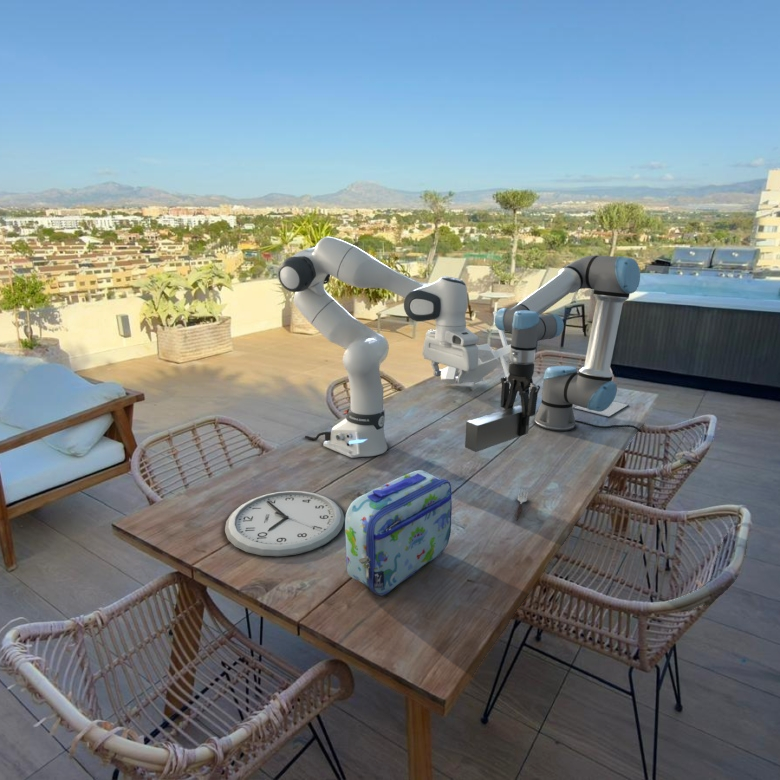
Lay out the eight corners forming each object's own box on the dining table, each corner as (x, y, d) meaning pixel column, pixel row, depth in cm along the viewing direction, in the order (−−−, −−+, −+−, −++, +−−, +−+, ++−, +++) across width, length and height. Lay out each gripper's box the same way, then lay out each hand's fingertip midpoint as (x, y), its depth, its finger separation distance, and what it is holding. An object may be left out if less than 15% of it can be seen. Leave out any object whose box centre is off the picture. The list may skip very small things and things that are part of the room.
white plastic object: (461, 429, 252) (437, 405, 227) (444, 352, 274) (420, 323, 250) (535, 404, 240) (518, 377, 215) (510, 326, 262) (492, 293, 237)
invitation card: (608, 416, 214) (573, 407, 224) (608, 416, 214) (573, 408, 224) (628, 404, 229) (594, 396, 238) (628, 405, 229) (594, 397, 238)
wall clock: (344, 547, 121) (211, 552, 118) (344, 554, 121) (212, 558, 119) (344, 486, 149) (237, 489, 147) (344, 491, 150) (237, 494, 147)
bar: (517, 429, 171) (519, 405, 169) (528, 433, 168) (530, 409, 166) (464, 447, 157) (466, 421, 154) (475, 452, 154) (477, 425, 151)
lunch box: (373, 608, 104) (374, 515, 98) (339, 582, 112) (337, 495, 105) (455, 554, 122) (460, 473, 116) (421, 535, 129) (424, 458, 123)
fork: (511, 521, 136) (512, 514, 136) (519, 493, 150) (519, 487, 150) (521, 523, 135) (522, 516, 135) (528, 495, 150) (528, 489, 149)
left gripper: (418, 329, 159) (417, 373, 163) (467, 341, 144) (464, 389, 148) (434, 327, 163) (432, 370, 167) (483, 338, 147) (480, 385, 151)
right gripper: (491, 357, 165) (486, 426, 172) (538, 369, 152) (530, 444, 159) (507, 354, 169) (501, 422, 176) (553, 366, 156) (545, 438, 163)
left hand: (447, 379), depth 157 cm, fingers open, 8 cm apart
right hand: (515, 432), depth 167 cm, fingers closed on bar, 4 cm apart
